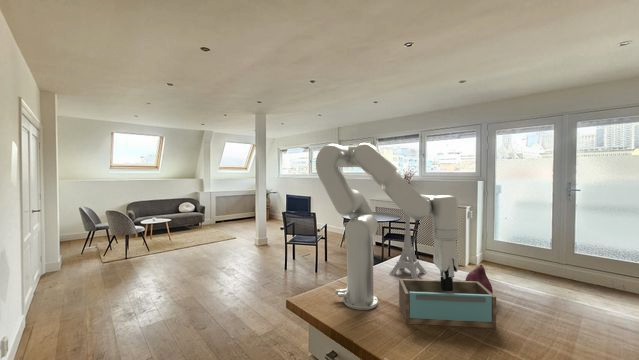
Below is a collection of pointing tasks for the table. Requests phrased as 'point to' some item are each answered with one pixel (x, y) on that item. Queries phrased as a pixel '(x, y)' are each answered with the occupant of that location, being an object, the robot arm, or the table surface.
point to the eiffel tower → (411, 261)
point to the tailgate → (450, 306)
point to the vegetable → (480, 277)
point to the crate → (435, 287)
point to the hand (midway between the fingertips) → (446, 289)
